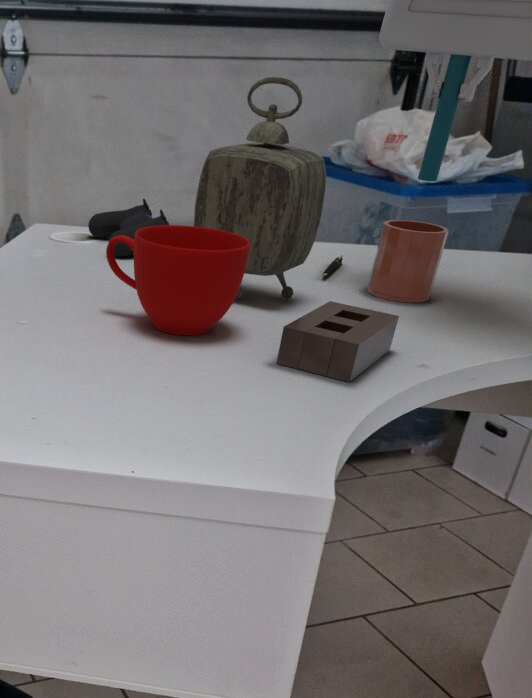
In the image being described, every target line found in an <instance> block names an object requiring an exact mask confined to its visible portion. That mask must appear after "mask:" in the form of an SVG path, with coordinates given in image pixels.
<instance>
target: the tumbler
mask: <svg viewBox="0 0 532 698" xmlns="http://www.w3.org/2000/svg"><path fill="white" fill-rule="evenodd" d="M449 232H450V231H449V229H448V228H447V227H445V226H442V225H439V224H435V223H431V222H424V221H419V220H407V219H390V220H386V221H385V220H384V221H383V224H382V228H381V232H380V236H379V239H378V244H377V247H376V250H375V251H376V252H375V255H374V260H373V264H372V268H371V271H370V276H369V280H368V284H367V293H368V294H370V295H372V296H374V297H377V298H379V299H382V300H386V301H391V302H397V303H398V302H399V303H407V304H408V303H409V304H416V303H417V304H418V303H425V302H427V301H429V298H430V296H431V293H432V291H433V286H434V283H435V280H436V276H437V273H438V271H439V270H438V269H439V266H440V264H441V263H440V262H441V259H442V256H443V252H444V248H445V245H446V242H447V238H448V236H449Z"/></svg>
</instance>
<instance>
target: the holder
mask: <svg viewBox="0 0 532 698" xmlns="http://www.w3.org/2000/svg"><path fill="white" fill-rule="evenodd" d="M399 318H400V316H399V315H397V314H392V313H387V312H383V311H378V310H374V309H368V308H364V307H359V306H355V305H350V304H346V303H341V302H336V301H331V300H329V301H328V302H325V303H324V304H322V305H320V306H318V307H316V308H315V309H313V310H311V311H309V312H308V313H306V314H304V315H302V316H300V317H298V318H297V319H295V320H293V321H290V323H287V324H285V325H284V326H283V328H282V333H281V337H280V343H279V349H278V354H277V358H276V364H277V365H280V366H284V367H288V368H292V369H296V370H300V371H304V372H307V373H310V374H311V373H312V374H316V375H320V376H324V377H327V378H331V379H335V380H339V381H342V382H347V383H351V382H352V381H353V380H354V379H356V378H357V377H358V376H359V375H360V374H362V373H363V372H364V371H365V370H367V369H368V368H370V367H371V366H372V365H373V364H374V363H376V362H377V361H379V360H380V359H381V358H382V357H383V356H385V355H386V354H388V353H389V352H390V350H391V347H392V343H393V340H394V336H395V332H396V328H397V325H398V321H399Z"/></svg>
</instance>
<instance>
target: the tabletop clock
mask: <svg viewBox="0 0 532 698" xmlns="http://www.w3.org/2000/svg"><path fill="white" fill-rule="evenodd" d="M269 84H275V85H282V86H286V87H288V88H290V89H292V91H293V92H294V93H295V94H296V96H297V100H298V101H297V104H296V106H295V107H294V108H292V109H291V110H289V111H284V112H278V106H277V104H276V103H275V104H274V103H272V104H270V105H268V109H267V110H263V109H261V108H259V107H257V106H256V105H255V104H254V103H253V102H252V96H253V93H254V92H255V91H256V90H257V89H258V88H260V87H261V86H265V85H269ZM246 100H247V105H248V107H249V108H250V110H251V111H252V113H254V114H256V115H257V116H259V117H262V118H265V119H266V120H263V121H259V122H257V123H256V124H255V125H253V127H252V128H251V129H250V130H249V131H248V134H247V136H246V139H245V140H247V142H246V143H241V144H233V145H226V146H219V147H217V148H214V149H212V150H210V151H209V152H208V154H207V156H206V158H205V161H204V163H203V165H202V168H201V172H200V176H199V182H198V187H197V192H196V197H195V203H194V213H193V214H194V215H193V216H194V217H193V226H195V227H204V228H211V229H217V230H222V231H227V232H231V233H234V234H237V235H240V236H242V237H244V238H246V239H247V240H248V241H249V242H250V248H249V254H248V259H247V264H246V268H245V272H244V275H253V276H263V277H269V276H276V278H277V279H278V281H279V283H280V285H281V288H282V289H281V291H280V295H281V297H282V298H283V299H285V300H288V299H291V298H292V297H293V295H294V289H293V287H291V286H289V285H287V282H286V278H285V272H287V271H289V270H292V269H294V268H296V267H299V266H301V265H303V264H304V263H305V262H306V261H307V258H308V257H309V255H310V253H311V251H312V249H313V246H314V243H315V240H316V237H317V234H318V230H319V226H320V223H321V219H322V215H323V209H324V201H325V196H326V195H325V194H326V185H327V184H326V183H327V170H326V162H325V159H324V158H323V157H322V156H320V155H319V154H317V153H316V152H313V151H311V150H309V149H305V148H301V147H297V146H292V145H288V144H290V138H289V134H288V130H287V128H286V127H285V126H284V125H283V124H282V123H279V122H277V121H276V120H282V119H287V118H289V117H292V116H293V115H295V114H296V113H298V112H299V110H300V108H301V107H302V105H303V94H302V91H301V89H300V87H299V86H298V84H296V83H295V82H294V81H293V80H291V79H288V78H284V77H279V76H267V77H264V78H262V79H259V80H257V81H256V82H255V83H254V84H253V85H252V86H251V87H250V88H249V91H248V93H247V99H246ZM242 295H243V288H242V287H241V286H240V288H239V291H238V293H237V296H236V298H235V300H237V299H240V298H241V297H242Z"/></svg>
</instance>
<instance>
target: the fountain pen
mask: <svg viewBox="0 0 532 698" xmlns="http://www.w3.org/2000/svg"><path fill="white" fill-rule="evenodd" d="M343 257H344V255H342V254H341V255H340V256H338V257H335V258H334V259H333V260H332V261H331V263H330V264H329V265H328V266H327V267H326V269H325V270H324V271H323V272H322V276H323V277H324V278H326V277H328V276H329V275H330V274H331V273H333V272H334V271H335V270H336V269H338V268H339V267H340V266H341V264H342V263H343Z"/></svg>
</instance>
